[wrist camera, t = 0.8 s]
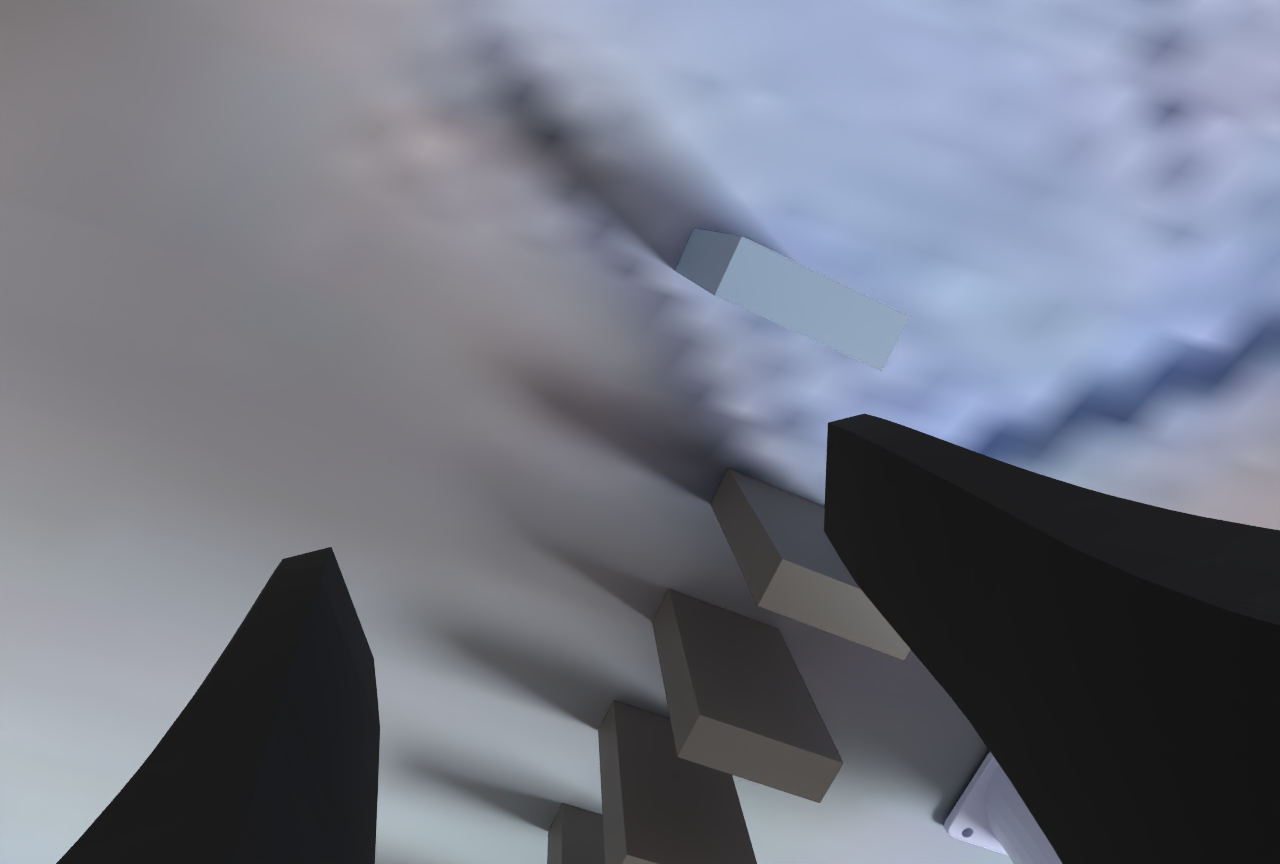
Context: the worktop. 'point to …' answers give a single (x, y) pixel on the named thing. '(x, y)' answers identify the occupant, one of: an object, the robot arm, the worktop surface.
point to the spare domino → (792, 295)
